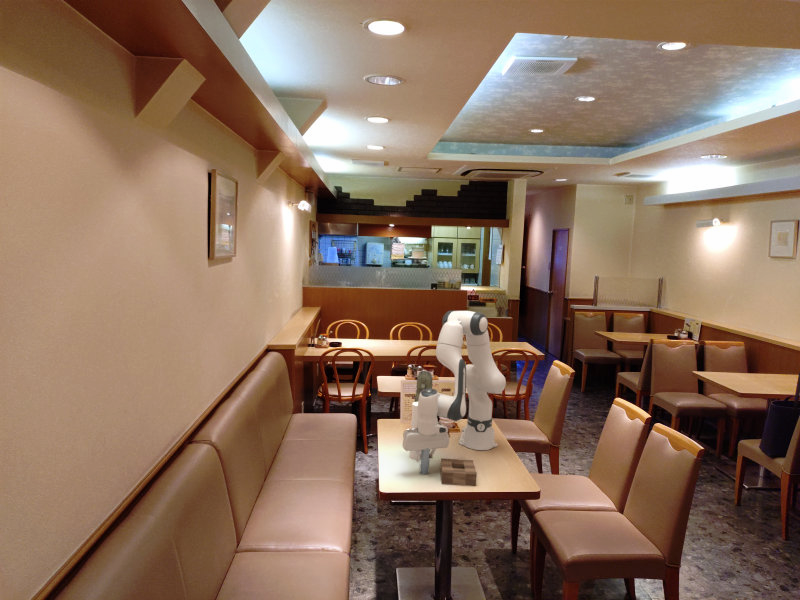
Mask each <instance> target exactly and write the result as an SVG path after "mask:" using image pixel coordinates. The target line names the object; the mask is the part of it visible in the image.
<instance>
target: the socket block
mask: <svg viewBox="0 0 800 600" xmlns="http://www.w3.org/2000/svg"><path fill="white" fill-rule="evenodd" d="M439 467H440V468H439V469H440V480H441V484H442V485H457V486H469V487H470V486H473V487H476V486H477V478H478V477H477V475H478V474H477V471H476V465H475V463H474V460H472V459H459V458H458V459H456V458H440V466H439Z"/></svg>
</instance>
